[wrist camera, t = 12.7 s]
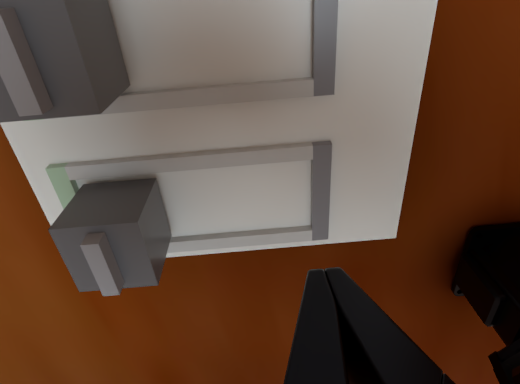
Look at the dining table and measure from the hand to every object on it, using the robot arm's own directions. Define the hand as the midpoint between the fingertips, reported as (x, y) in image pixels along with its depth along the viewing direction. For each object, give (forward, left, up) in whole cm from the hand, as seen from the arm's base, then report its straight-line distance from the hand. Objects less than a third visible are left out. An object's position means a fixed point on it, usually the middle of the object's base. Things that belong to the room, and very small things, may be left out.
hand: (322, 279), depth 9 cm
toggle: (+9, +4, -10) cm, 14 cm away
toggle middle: (+9, -5, -10) cm, 14 cm away
